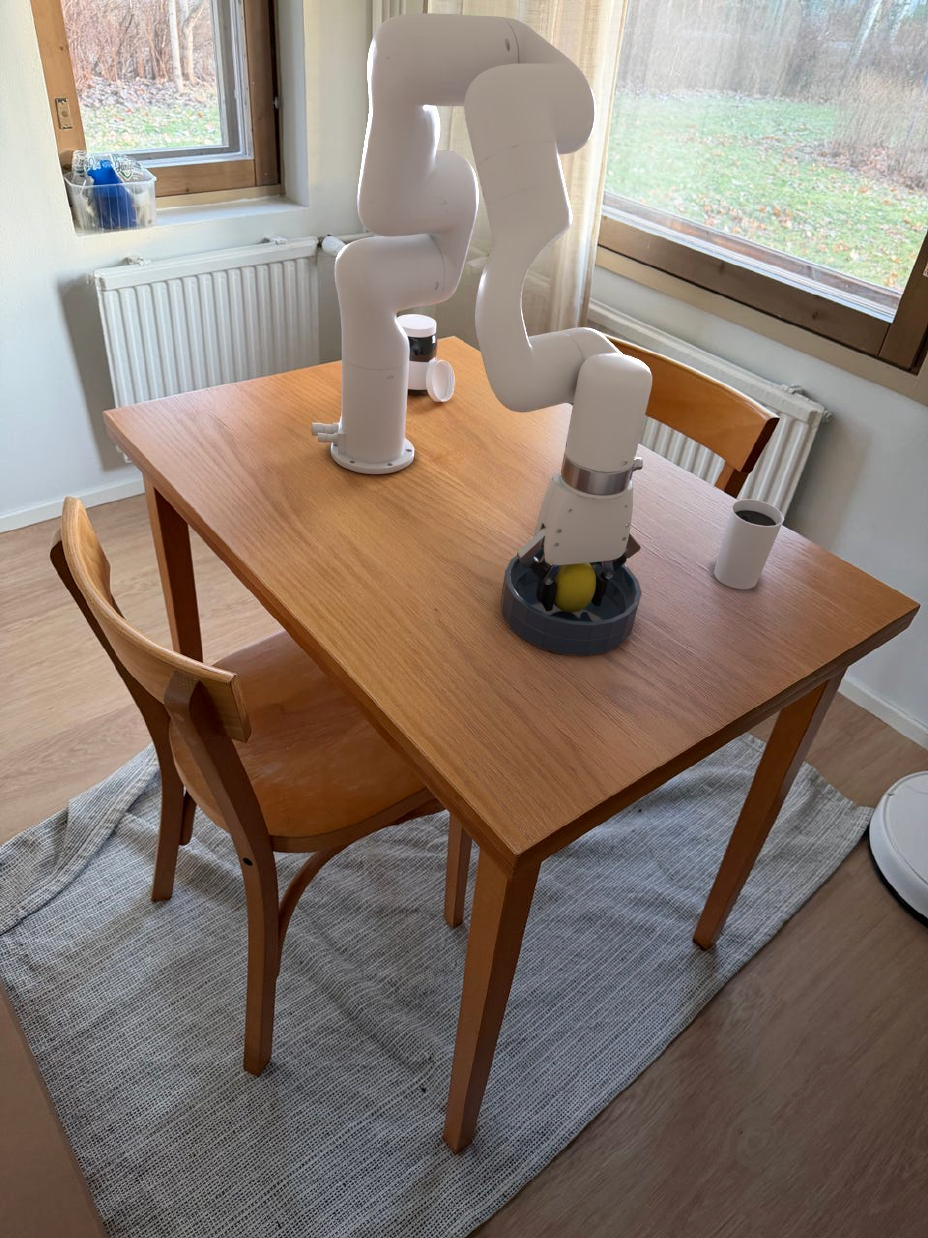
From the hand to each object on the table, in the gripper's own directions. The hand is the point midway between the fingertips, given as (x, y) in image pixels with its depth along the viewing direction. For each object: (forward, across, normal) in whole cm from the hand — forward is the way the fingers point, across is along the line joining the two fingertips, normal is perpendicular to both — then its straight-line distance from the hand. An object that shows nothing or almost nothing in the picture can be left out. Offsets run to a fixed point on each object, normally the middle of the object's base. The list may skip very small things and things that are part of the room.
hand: (569, 600), depth 109 cm
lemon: (+2, 0, 0) cm, 2 cm away
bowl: (+2, 0, 0) cm, 2 cm away
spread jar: (+2, +3, -63) cm, 63 cm away
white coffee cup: (+2, -26, -4) cm, 26 cm away
